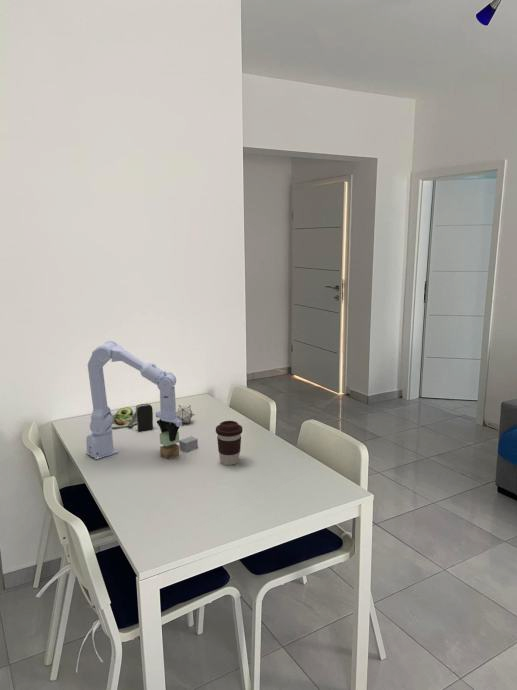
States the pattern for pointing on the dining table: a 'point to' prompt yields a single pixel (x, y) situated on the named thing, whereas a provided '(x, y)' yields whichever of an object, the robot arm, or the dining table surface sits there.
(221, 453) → the coffee cup
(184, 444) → the grey brick
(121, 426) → the salad plate
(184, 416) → the grey wireframe spiky ball
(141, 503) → the dining table surface
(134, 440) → the dining table surface
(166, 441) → the green brick
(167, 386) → the robot arm
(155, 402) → the dining table surface
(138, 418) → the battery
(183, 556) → the dining table surface
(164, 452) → the walnut brick
